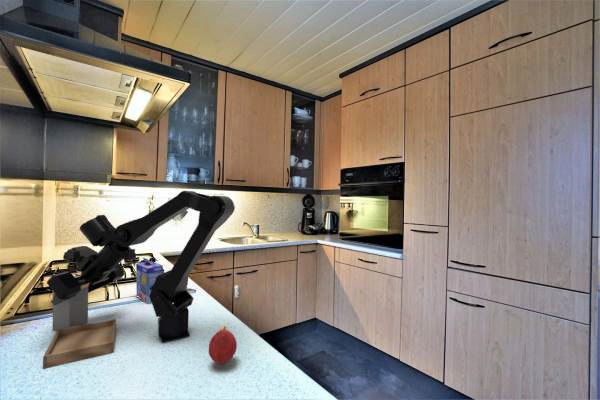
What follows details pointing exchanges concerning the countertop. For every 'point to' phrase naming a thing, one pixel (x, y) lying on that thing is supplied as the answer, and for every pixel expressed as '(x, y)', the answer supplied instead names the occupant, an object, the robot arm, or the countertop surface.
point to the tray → (80, 343)
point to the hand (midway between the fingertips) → (70, 297)
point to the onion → (222, 346)
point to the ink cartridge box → (146, 278)
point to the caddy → (71, 310)
